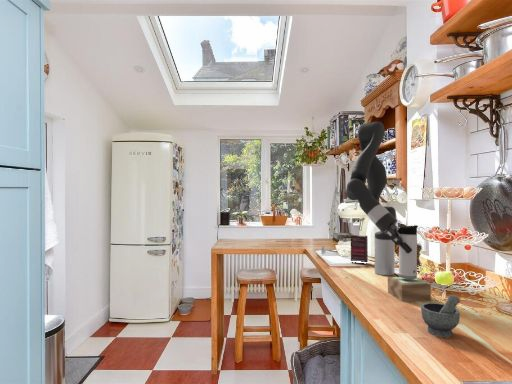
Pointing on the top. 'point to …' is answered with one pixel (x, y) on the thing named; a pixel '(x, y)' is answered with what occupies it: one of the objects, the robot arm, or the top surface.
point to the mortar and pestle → (441, 316)
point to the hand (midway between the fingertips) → (412, 250)
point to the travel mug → (408, 259)
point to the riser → (409, 289)
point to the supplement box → (359, 248)
